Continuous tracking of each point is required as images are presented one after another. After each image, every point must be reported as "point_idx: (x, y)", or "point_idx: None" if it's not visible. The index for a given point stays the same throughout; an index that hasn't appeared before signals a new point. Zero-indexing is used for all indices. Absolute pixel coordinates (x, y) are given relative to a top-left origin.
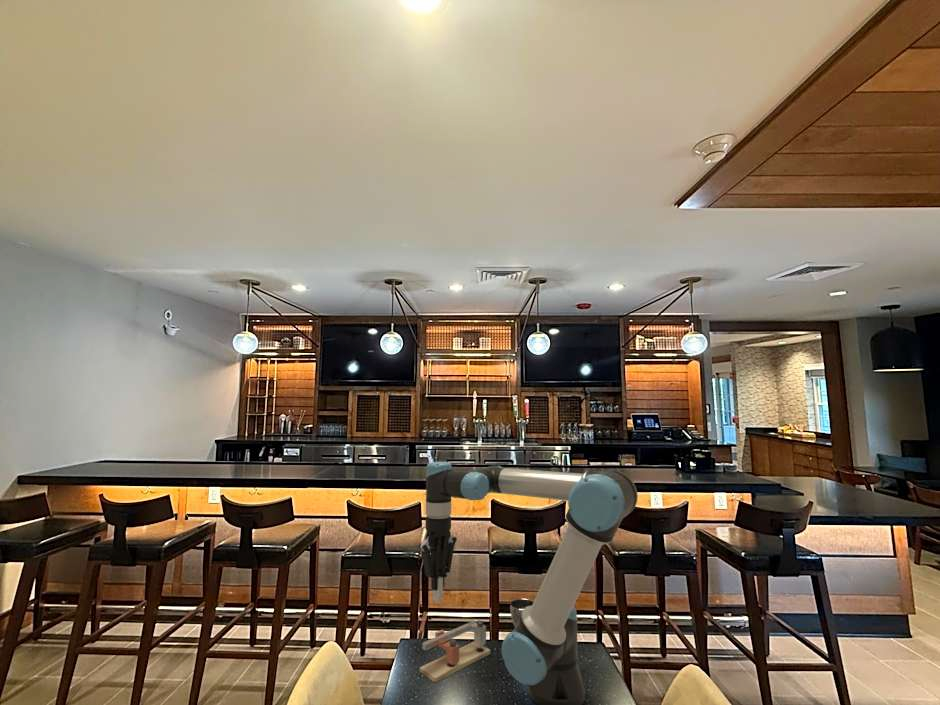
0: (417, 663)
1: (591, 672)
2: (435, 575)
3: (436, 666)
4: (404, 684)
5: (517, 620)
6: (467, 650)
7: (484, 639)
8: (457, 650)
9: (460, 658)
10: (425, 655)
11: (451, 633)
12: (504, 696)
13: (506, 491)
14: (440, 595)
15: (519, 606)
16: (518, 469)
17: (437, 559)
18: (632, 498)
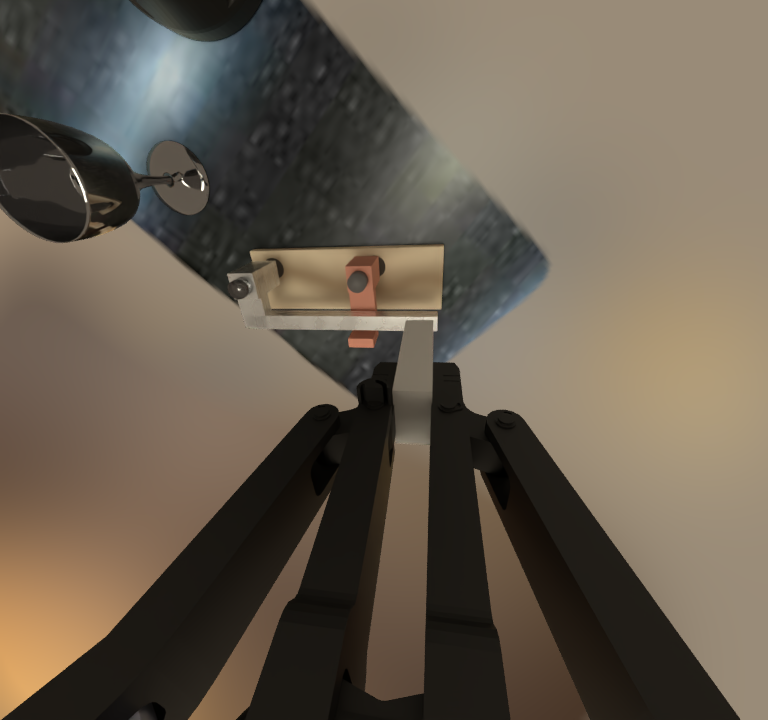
0: None
1: None
2: (466, 418)
3: (407, 285)
4: (501, 290)
5: (114, 167)
6: (302, 288)
7: (252, 264)
8: (354, 263)
9: (338, 272)
10: (388, 348)
11: (337, 316)
12: (336, 40)
13: None
14: (420, 335)
15: (64, 229)
16: None
17: (453, 540)
18: None
